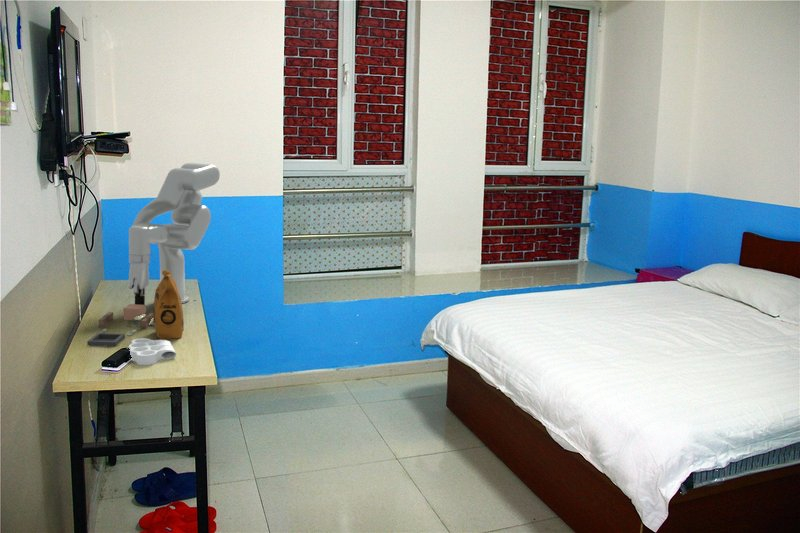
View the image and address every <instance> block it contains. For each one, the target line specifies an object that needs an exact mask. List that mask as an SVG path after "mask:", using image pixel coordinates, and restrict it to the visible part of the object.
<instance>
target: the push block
mask: <svg viewBox="0 0 800 533" xmlns="http://www.w3.org/2000/svg"><path fill="white" fill-rule="evenodd" d="M145 313H146V314H147V306H146V304H145V305H137V304H135V303H133V304H131V303H129V304H128V305H126V306H124V307H123V320H125V321H128V320H129V321H134V320H133V319H134V318H135V317H136V316H140V315H142V314H145Z"/></svg>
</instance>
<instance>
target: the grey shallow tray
mask: <svg viewBox="0 0 800 533" xmlns="http://www.w3.org/2000/svg"><path fill="white" fill-rule="evenodd" d="M125 338H126V333H109V332H107V333H105V332H104V333H99V332H97V333H96V334H94V335H93V336H92V337H91V338H90V339H88V340H87V346H88V345H89V346H91V347H117V346H118V345H119V344H121V343H122V341H124V340H125ZM89 346H88V347H89Z"/></svg>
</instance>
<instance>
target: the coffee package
mask: <svg viewBox="0 0 800 533" xmlns="http://www.w3.org/2000/svg"><path fill="white" fill-rule="evenodd" d="M162 274H163V275H164V278H163V279H162V281H161V282H160V281H159V284H158V285H157V287H156V289H155V292H154V293H155V294H154V300H153V308H152V311H153V313H152V314H153V316H154V322H153V324H154V329H155V333H156V336H157V338H158V340H171V339H181V338H182V335H183V332H184V331H185V330H184V329H185V328H184V324H185V323H184V310H183V303H181V299H180V296H179V292H178V289H177V285H176V283H175V281H174V280H173V278H172V277H171V273H170V272H169V271H168V270H164V271H163V272H162Z"/></svg>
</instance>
